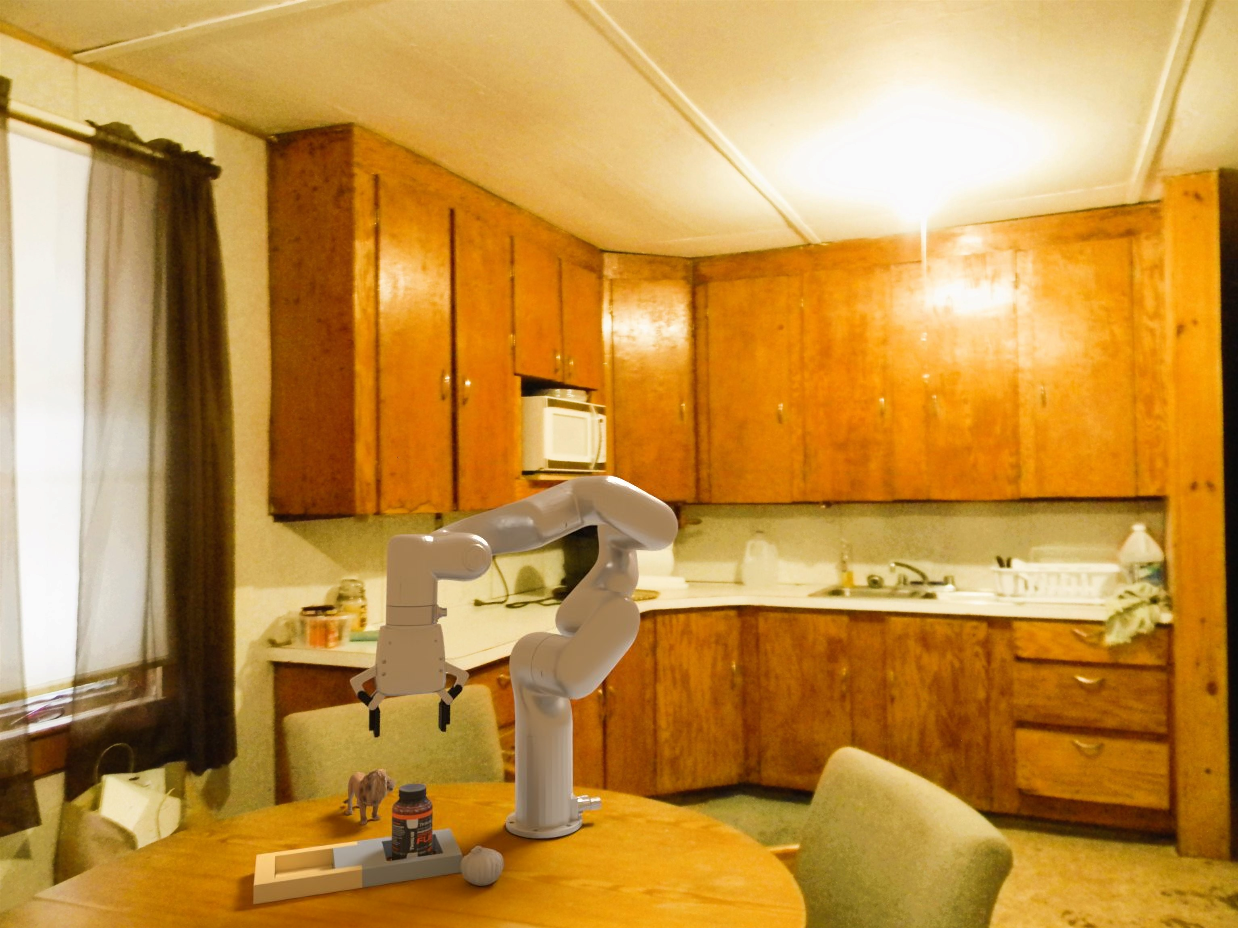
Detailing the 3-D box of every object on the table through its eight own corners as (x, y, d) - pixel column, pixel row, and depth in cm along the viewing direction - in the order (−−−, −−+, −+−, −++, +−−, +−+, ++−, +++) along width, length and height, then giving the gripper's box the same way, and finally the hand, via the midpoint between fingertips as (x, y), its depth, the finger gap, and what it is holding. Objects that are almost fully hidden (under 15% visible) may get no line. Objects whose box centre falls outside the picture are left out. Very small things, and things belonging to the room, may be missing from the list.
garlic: (463, 893, 120) (463, 855, 120) (458, 877, 125) (458, 840, 126) (506, 888, 122) (506, 849, 122) (500, 872, 127) (500, 835, 127)
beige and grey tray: (449, 844, 137) (449, 828, 138) (462, 872, 127) (462, 854, 127) (256, 872, 128) (256, 854, 128) (253, 904, 117) (253, 885, 117)
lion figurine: (399, 822, 147) (400, 768, 148) (371, 831, 143) (371, 775, 144) (356, 802, 158) (357, 751, 158) (328, 809, 154) (329, 757, 154)
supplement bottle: (422, 874, 126) (422, 794, 127) (384, 871, 128) (384, 792, 128) (438, 857, 132) (439, 781, 133) (402, 855, 134) (402, 779, 134)
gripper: (464, 612, 138) (463, 722, 137) (350, 616, 132) (347, 731, 131) (473, 617, 131) (472, 733, 130) (353, 622, 125) (350, 744, 124)
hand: (409, 732), depth 131 cm, fingers open, 9 cm apart
